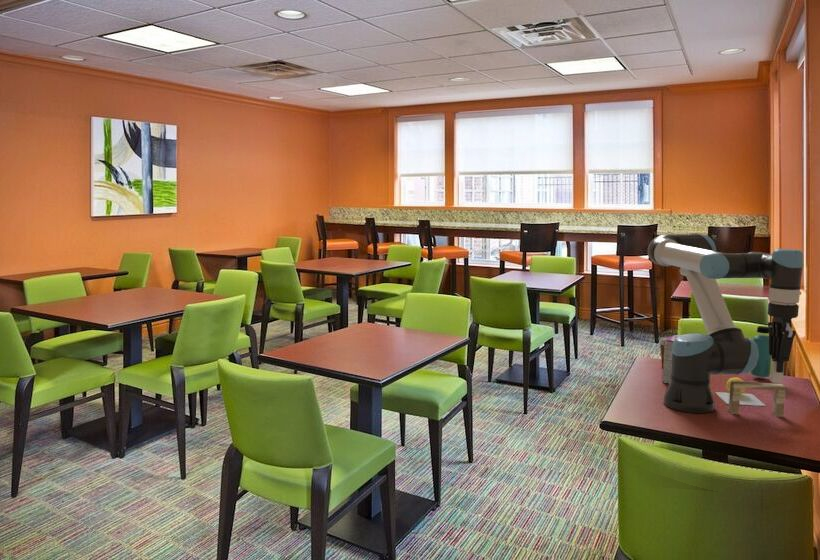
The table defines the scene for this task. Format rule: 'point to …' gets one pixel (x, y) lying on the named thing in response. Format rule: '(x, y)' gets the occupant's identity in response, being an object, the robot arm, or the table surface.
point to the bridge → (778, 388)
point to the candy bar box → (668, 358)
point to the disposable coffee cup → (662, 348)
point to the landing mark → (741, 399)
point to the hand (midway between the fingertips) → (776, 382)
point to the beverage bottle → (762, 353)
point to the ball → (734, 381)
